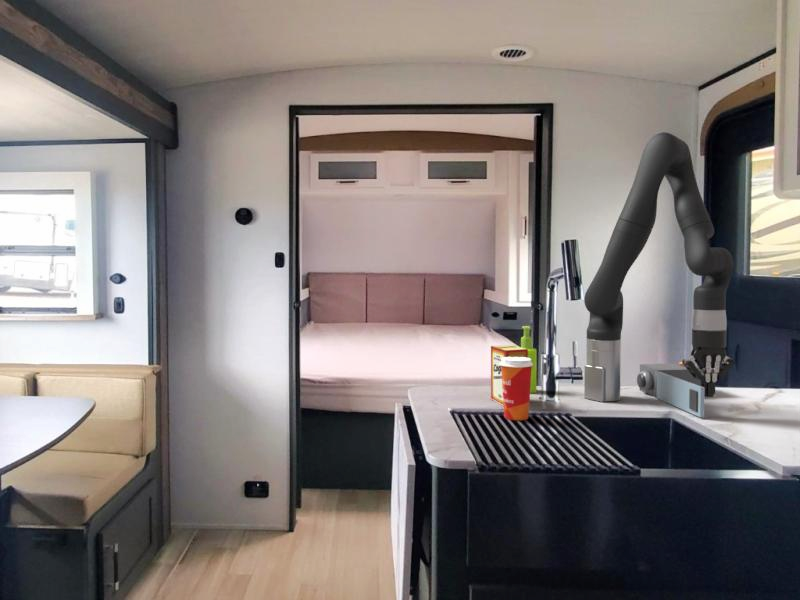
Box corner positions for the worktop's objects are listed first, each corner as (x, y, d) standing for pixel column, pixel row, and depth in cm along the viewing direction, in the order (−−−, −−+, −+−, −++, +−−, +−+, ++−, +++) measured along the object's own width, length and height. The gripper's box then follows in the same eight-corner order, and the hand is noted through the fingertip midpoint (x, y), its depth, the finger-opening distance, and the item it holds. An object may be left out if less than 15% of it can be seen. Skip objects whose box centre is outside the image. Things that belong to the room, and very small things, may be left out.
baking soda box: (527, 405, 150) (527, 347, 149) (506, 407, 148) (506, 349, 148) (511, 398, 159) (511, 343, 158) (491, 399, 158) (490, 344, 157)
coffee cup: (499, 412, 143) (499, 355, 142) (531, 413, 142) (531, 356, 141) (499, 421, 135) (499, 361, 134) (534, 422, 134) (534, 361, 133)
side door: (698, 417, 135) (699, 387, 134) (653, 396, 157) (653, 371, 157) (704, 417, 135) (705, 387, 134) (658, 396, 157) (658, 371, 157)
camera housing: (710, 395, 159) (710, 365, 158) (649, 398, 157) (649, 367, 157) (689, 388, 169) (689, 360, 168) (631, 390, 167) (632, 362, 167)
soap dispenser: (534, 388, 171) (534, 325, 170) (537, 393, 164) (537, 327, 163) (515, 388, 172) (515, 325, 171) (518, 393, 165) (517, 327, 164)
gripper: (723, 325, 140) (722, 392, 141) (674, 326, 139) (674, 394, 140) (744, 328, 133) (743, 399, 134) (693, 329, 132) (692, 400, 133)
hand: (707, 396), depth 137 cm, fingers closed
